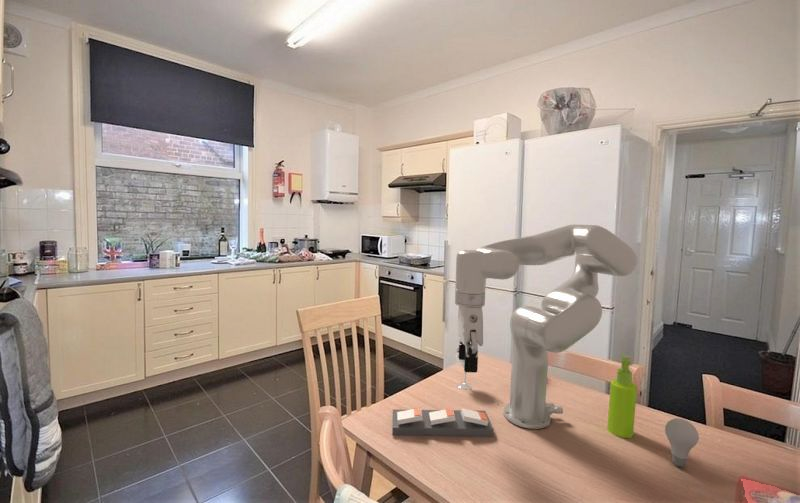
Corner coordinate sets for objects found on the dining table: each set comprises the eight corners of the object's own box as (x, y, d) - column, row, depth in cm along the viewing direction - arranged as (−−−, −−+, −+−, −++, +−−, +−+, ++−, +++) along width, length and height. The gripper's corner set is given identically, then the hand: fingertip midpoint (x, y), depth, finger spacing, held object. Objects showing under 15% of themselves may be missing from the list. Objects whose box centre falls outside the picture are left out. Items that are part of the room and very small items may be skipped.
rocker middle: (453, 412, 98) (452, 407, 98) (455, 420, 94) (454, 415, 94) (429, 416, 98) (428, 411, 98) (431, 425, 95) (430, 420, 94)
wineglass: (452, 381, 126) (453, 347, 125) (471, 381, 126) (472, 347, 125) (457, 390, 119) (458, 355, 118) (477, 390, 120) (479, 354, 119)
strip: (484, 417, 103) (485, 408, 103) (493, 436, 94) (493, 426, 94) (392, 416, 103) (392, 407, 103) (392, 435, 94) (392, 425, 94)
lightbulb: (684, 478, 80) (689, 430, 79) (656, 460, 86) (660, 416, 85) (701, 470, 83) (706, 424, 82) (672, 454, 88) (676, 411, 87)
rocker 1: (421, 411, 98) (420, 406, 98) (422, 420, 94) (421, 414, 94) (398, 416, 98) (397, 411, 98) (398, 424, 94) (397, 419, 94)
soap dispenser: (630, 426, 100) (636, 355, 98) (634, 440, 94) (640, 364, 92) (606, 421, 103) (611, 352, 101) (608, 434, 96) (614, 360, 95)
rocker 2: (483, 417, 99) (484, 412, 99) (487, 425, 95) (488, 420, 95) (460, 412, 98) (461, 407, 98) (463, 420, 95) (464, 415, 94)
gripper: (493, 307, 85) (490, 380, 87) (477, 291, 102) (474, 353, 104) (461, 306, 85) (458, 380, 87) (450, 291, 102) (448, 352, 104)
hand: (467, 365), depth 95 cm, fingers open, 7 cm apart
